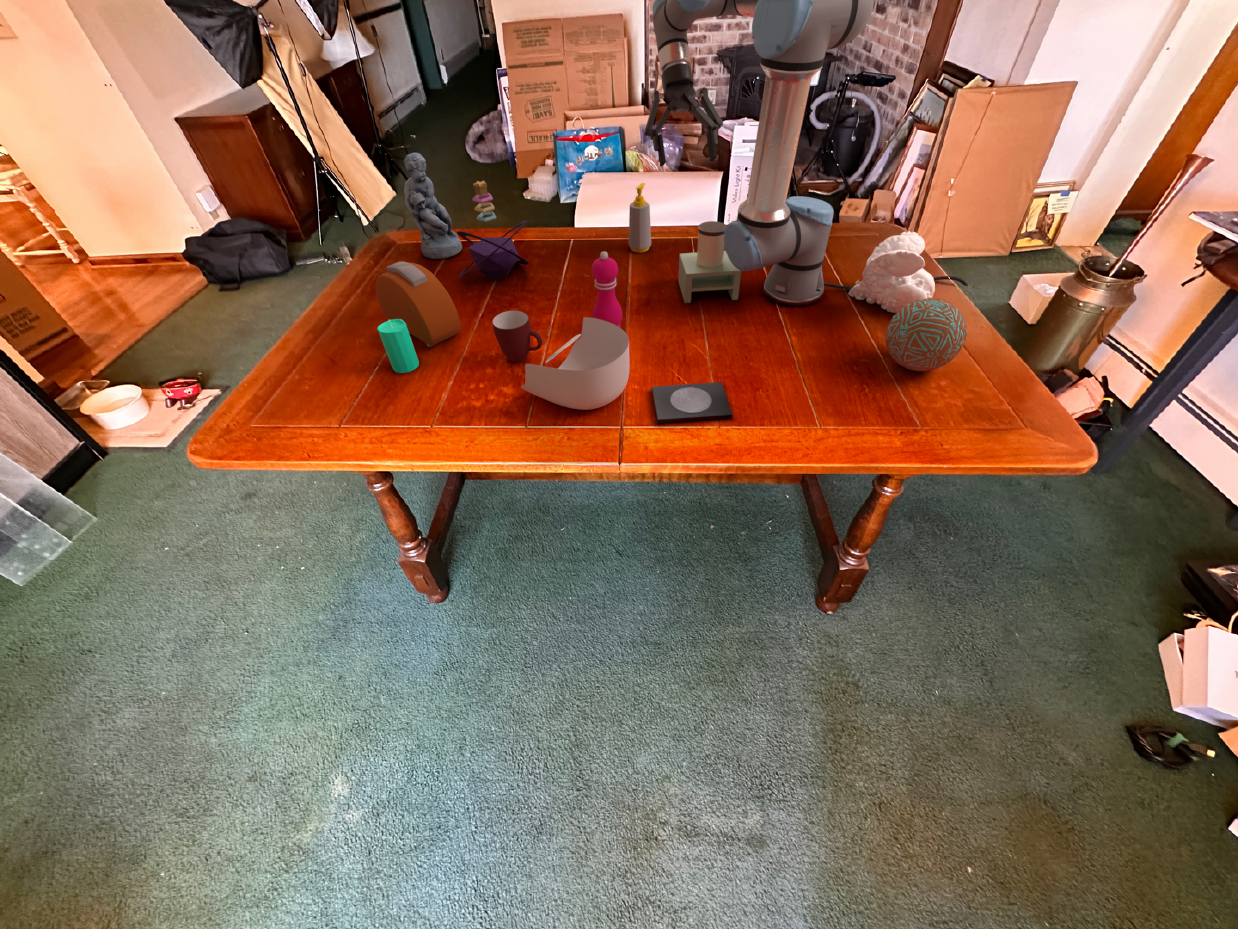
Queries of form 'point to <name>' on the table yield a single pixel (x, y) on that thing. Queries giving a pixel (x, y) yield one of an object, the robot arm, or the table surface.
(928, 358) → the decorative sphere
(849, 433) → the table surface
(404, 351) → the candle
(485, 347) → the table surface
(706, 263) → the jar
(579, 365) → the white curved piece
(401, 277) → the alarm clock
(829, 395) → the table surface
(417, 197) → the statue
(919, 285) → the white lumpy figure
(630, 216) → the soap bottle
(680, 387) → the hob plate
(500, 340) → the mug
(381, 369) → the table surface
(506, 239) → the purple faceted sculpture
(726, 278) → the small table
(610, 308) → the pepper mill
